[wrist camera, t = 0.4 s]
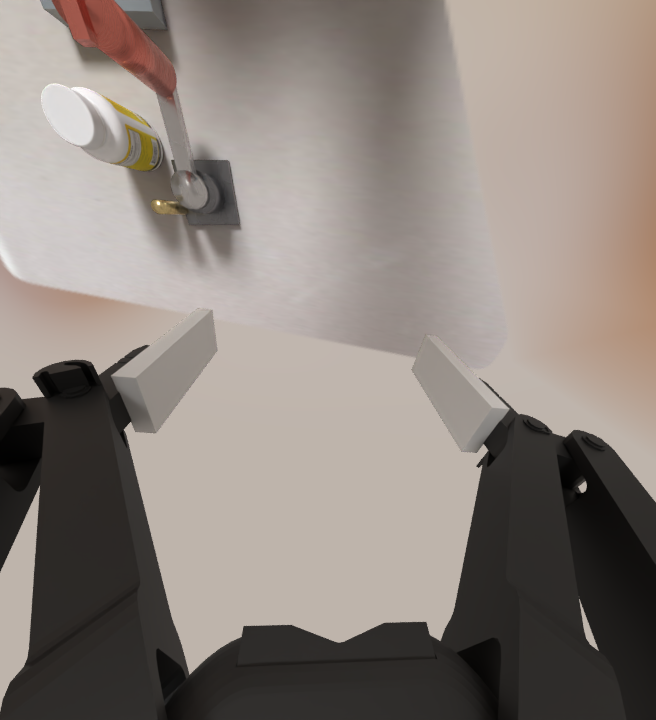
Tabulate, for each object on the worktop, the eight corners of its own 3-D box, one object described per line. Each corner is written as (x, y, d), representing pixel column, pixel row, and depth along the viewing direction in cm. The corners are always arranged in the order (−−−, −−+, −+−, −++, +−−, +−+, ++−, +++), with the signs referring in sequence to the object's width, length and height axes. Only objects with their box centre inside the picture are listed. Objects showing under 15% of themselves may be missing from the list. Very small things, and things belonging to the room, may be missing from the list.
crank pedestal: (166, 160, 29) (131, 147, 24) (229, 161, 30) (208, 148, 24) (184, 224, 33) (157, 225, 28) (240, 224, 33) (224, 225, 28)
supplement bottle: (105, 123, 27) (13, 82, 19) (145, 106, 27) (67, 57, 19) (136, 178, 30) (68, 164, 22) (173, 165, 30) (117, 144, 21)
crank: (213, 209, 29) (163, 205, 19) (183, 209, 29) (118, 205, 19) (178, 48, 22) (74, -77, 13) (139, 48, 22) (5, -79, 12)
